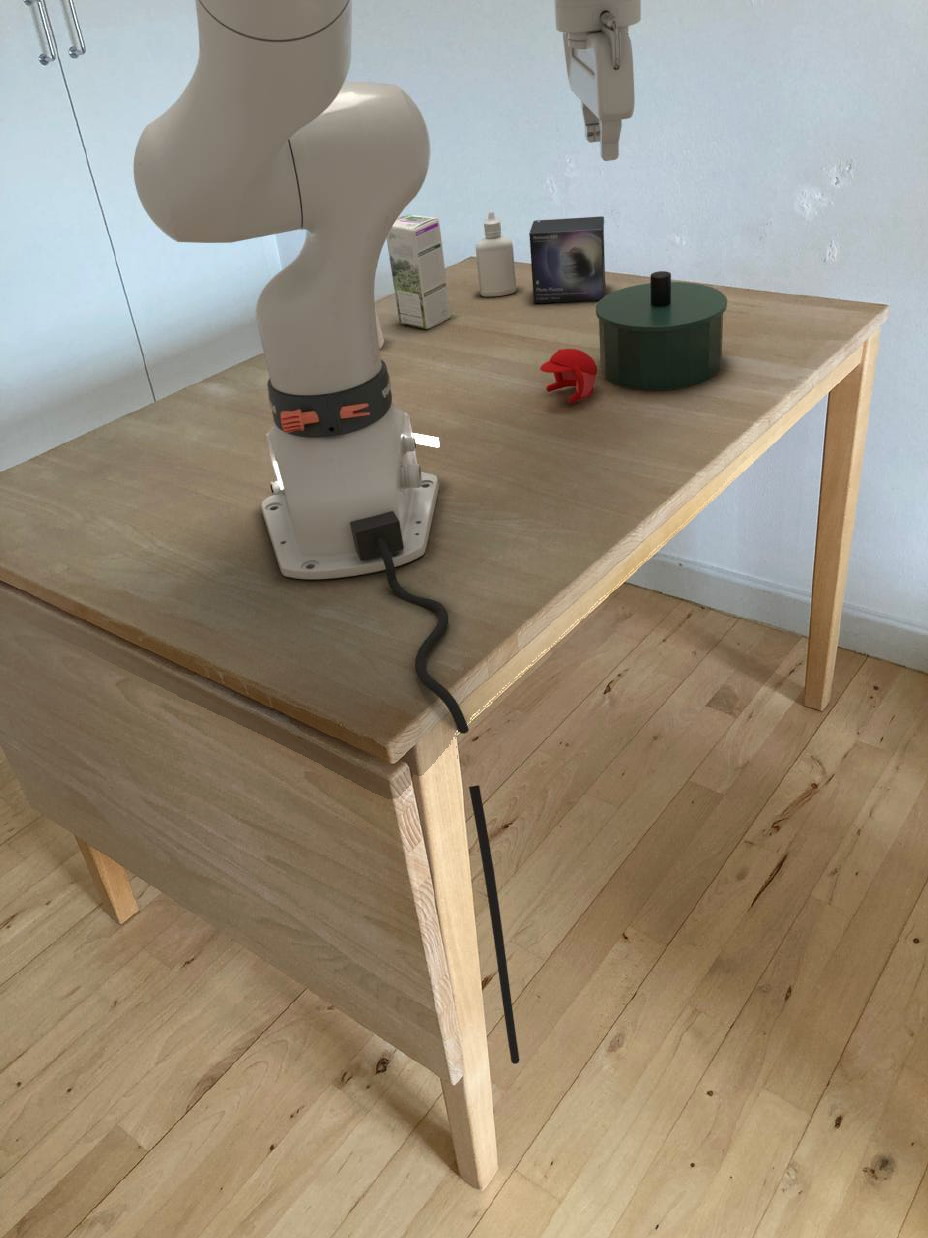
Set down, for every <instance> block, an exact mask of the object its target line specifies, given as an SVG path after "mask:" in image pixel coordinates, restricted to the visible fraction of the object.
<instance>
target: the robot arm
mask: <svg viewBox="0 0 928 1238" xmlns="http://www.w3.org/2000/svg"><path fill="white" fill-rule="evenodd" d="M194 1H195V11H196V19H197V29H198V30H197V32H198V59H197V63H196V66H195V70H194V72H193V74H192V76H191V78H190V80H189V82H188V83H187V85H186V87H185V88H184V90H183V91H182V92H181V94H180V95H179V97H178V98H177V99H176V101H175V102H174V103H173V104H172V105H171V106H170V107H169V108H168V109H167V110H166V111H164V112H163V113H162V114H161V115H160V116H158V117H156V118H155V119H154V120H152V121H151V122H150V123H148V124H147V125H145V127H144V128H143V130H142V132H141V133H140V136H139V138H138V140H137V144H136V147H135V150H134V155H133V164H132V165H133V180H134V185H135V190H136V193H137V196H138V199H139V201H140V203H141V206H142V207H143V209H144V211H145V213H146V214H147V216H148V217H149V218H150V220H151V221H152V222H153V223H154V225H155V226H156V227H157V228H158V229H159V230H160V231H161V232H162V233H163V234H165V235H166V236H167V237H169V238H170V239H172V240H173V241H174V242H176V243H194V244H195V243H197V244H227V243H228V244H231V243H235V242H240V241H241V242H242V241H247V240H251V239H257V238H261V237H267V236H273V235H278V234H283V233H287V232H294V231H299V230H300V231H303V230H304V231H305V238H304V243H303V244H302V247H301V249H300V251H299V252H298V254H297V255H296V257H295V258H294V259H293V260H292V261H291V262H290V263H289V264H287V265H286V266H284V267H283V268H282V269H281V270H279V271H278V272H277V273H276V274H274V275H273V276H272V278H270V280H268V281H267V283H266V284H265V285H264V287H263V289H262V290H261V292H260V293H259V296H258V298H257V302H256V305H255V321H256V324H257V329H258V333H259V337H260V342H261V346H262V351H263V356H264V360H265V363H266V367H267V372H268V377H269V378H268V380H267V383H266V385H267V391H268V394H267V397H268V404H269V407H270V409H271V413H272V418H273V419H272V420H273V422H274V424H273V425H272V427H271V428H270V429H269V430H268V432H267V433H266V434H265V440H266V443H267V448H268V452H269V456H270V461H271V465H272V469H273V473H274V477H275V481H270V485H269V487H270V491H271V494H272V495H270V496H268V497H267V498H264V499H263V500H262V502H261V503H260V504H261V505H260V506H261V513H262V517H263V520H264V522H265V526H266V530H267V533H268V536H269V538H270V542H271V545H272V548H273V552H274V554H275V557H276V561H277V564H278V567H279V571H280V572H281V574H282V576H284V577H285V578H286V577H287V578H290V579H297V580H298V579H299V580H329V579H340V578H348V577H356V576H359V575H361V576H362V575H368V574H373V573H377V572H383V571H385V574H386V579H387V580H386V581H387V583H388V586H389V588H390V589H391V591H392V592H393V593H394V594H395V595H396V596H397V597H398V598H400V599H401V600H404V601H406V602H409V603H410V604H414V605H416V606H420V607H422V608H428V609H430V610H433V611H434V612H435V613H436V615H437V618H438V621H437V623H436V626H435V627H434V628H433V630H432V631H431V632H430V633H429V635H428V636H427V637H426V639H425V640H424V641H423V642H422V644H420V647H419V649H418V650H417V653H416V656H415V660H414V667H415V672H416V675H417V677H418V678H419V680H420V682H421V683H422V684H423V685H424V686H425V687H426V688H427V689H428V690H429V691H431V692H432V693H433V694H434V695H436V696H437V697H438V698H439V699H440V700H441V702H442V703H443V704H444V705H445V707H446V708H447V709H448V711H449V712H450V714H451V717H452V719H453V721H454V725H455V726H456V730H457V732H458V733H460V734H461V735H462V734H463V735H465V734H468V733H469V731H470V730H469V727H468V723H467V720H466V718H465V715H464V713H463V711H462V709H461V707H460V705H459V703H458V702H457V700H456V699H455V698H454V695H452V694H451V692H450V691H448V689H447V688H446V687H445V686H443V685H442V684H441V683H439V681H437V680H436V679H435V678H434V677H432V676H431V675H430V674H429V672H428V670H427V666H426V660H427V658H428V657H427V656H428V655H429V653H430V651H431V650H432V649H433V647H434V646H435V644H436V643H437V642H438V641H439V639H440V638H441V637H442V636H443V634H444V633H445V632H446V629H447V628H448V627H447V626H448V623H449V614H448V611H447V609H446V608H445V606H444V605H443V604H442V603H441V602H439V601H437V600H435V599H431V598H427V597H423V596H419V595H416V594H413V593H411V592H409V591H407V590H406V589H405V588H403V587H402V586H401V584H400V583H399V582H398V579H397V575H396V574H397V573H396V568H397V567H399V566H402V565H405V564H408V563H410V562H412V561H414V560H417V559H418V558H420V557H422V556H424V554H425V553H426V550H427V547H428V541H429V537H430V531H431V527H432V522H433V517H434V513H435V509H436V504H437V500H438V495H439V490H440V483H439V479H438V477H437V476H436V475H435V474H433V473H430V472H425V471H422V469H421V465H420V464H418V460H417V453H416V451H417V444H418V445H423V446H427V447H428V446H429V447H433V448H440V440H439V439H440V438H439V437H436V436H430V435H426V434H420V433H414V432H413V429H412V425H411V420H410V415H409V414H408V413H407V412H405V411H404V410H402V409H401V408H399V407H398V406H397V405H396V404H395V403H393V394H392V389H391V387H392V386H391V385H392V381H391V376H390V373H389V372H388V367H387V364H386V362H385V360H384V359H382V356H381V349H379V342H378V334H377V325H376V315H375V308H376V301H375V282H376V273H377V269H378V264H379V260H380V256H381V253H382V250H383V247H384V245H385V242H386V241H387V239H386V237H387V236H388V234H389V232H390V230H391V228H392V226H393V224H394V223H395V221H396V220H397V218H400V215H401V214H402V213H403V211H404V210H405V209H406V207H407V206H408V205H409V204H410V203H411V202H412V201H413V200H414V199H415V198H416V197H417V195H418V194H419V192H420V191H421V190H422V187H423V185H424V183H425V181H426V178H427V176H428V171H429V167H430V161H431V140H430V139H431V138H430V134H429V130H428V127H427V123H426V120H425V119H424V116H423V114H422V112H421V110H420V108H419V107H418V105H417V104H416V103H415V101H414V100H413V99H412V97H411V96H410V95H409V94H408V93H407V92H406V91H405V90H404V89H402V88H401V87H400V86H399V85H397V84H393V83H381V82H371V81H370V82H368V81H346V79H347V76H348V74H349V70H350V67H351V62H352V61H351V60H352V27H353V25H352V24H353V17H352V16H353V0H194ZM641 1H642V0H554V17H555V18H554V19H555V21H554V22H555V23H554V24H555V30H556V31H557V32H559V33H562V40H563V49H564V58H565V65H566V75H567V79H568V84H569V87H570V90H571V92H572V93H573V94H574V95H575V96H576V97H577V98H578V99H579V100H580V108H581V113H582V118H583V123H584V138H585V140H586V141H587V142H588V143H598V142H599V156H600V157H601V159H602V160H603V161H605V162H609V161H616V160H617V159H618V158H619V156H620V149H619V148H620V146H619V145H620V143H619V142H620V137H621V132H622V127H623V126H622V125H623V123H622V121H623V120H629V119H631V118H632V117H633V115H634V112H635V105H636V103H635V102H636V101H635V76H634V75H635V74H634V57H633V56H634V55H633V45H632V40H631V37H630V34H629V28H630V27H631V26H634V25H637V24H638V23H640V22H641V20H642V19H641V17H642V16H641V15H642V13H641V12H642V11H641V8H642V7H641V6H642V5H641V3H642V2H641ZM468 791H469V795H470V801H471V807H472V810H473V816H474V817H473V818H474V822H475V827H476V828H475V829H476V833H477V840H478V844H479V851H480V856H481V864H482V868H483V877H484V881H485V887H486V894H487V901H488V908H489V914H490V915H489V916H490V921H491V928H492V935H493V936H492V937H493V943H494V951H495V957H496V965H497V971H498V979H499V985H500V993H501V1001H502V1007H503V1015H504V1022H505V1029H506V1035H507V1036H506V1037H507V1042H508V1050H509V1056H510V1062H511V1063H512V1064H514V1065H516V1064H519V1062H520V1053H519V1046H518V1041H517V1031H516V1025H515V1018H514V1009H513V1003H512V994H511V987H510V979H509V971H508V964H507V955H506V949H505V940H504V934H503V926H502V918H501V911H500V903H499V895H498V889H497V883H496V882H497V881H496V875H495V870H494V869H495V868H494V862H493V857H492V856H493V855H492V850H491V845H490V844H491V843H490V839H489V833H488V826H487V821H486V815H485V809H484V805H483V804H484V803H483V799H482V798H483V797H482V793H481V788H480V785H479V784H478V785H472V786H468Z"/></svg>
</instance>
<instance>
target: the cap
mask: <svg viewBox="0 0 928 1238" xmlns="http://www.w3.org/2000/svg"><path fill="white" fill-rule="evenodd" d="M539 369H540V371H541V372H544V373H547V374H553V377H554V381H555V382H553V383H550V384H547V386H545V388H546V389H545V390H546V392H548V393H551V392H554V391H557V390H559V389H565V388H569V387H570V388H571V387H576V389H575V391H574V393H573V394H572V395H571V396H570V397H569V398H568V403H569V404H571V405H573V404H575V403H577V402H580V401H583V400H584V399H587V398H589V397H590V396H592V395H593V393H594V391H595V388H594V386H595V383H596V379H597V375H598V366H597V362H596V361H595V360H594V359H593V358H592V356H591V355H590V354H588V353H587V352H585V351H582V350H580V349H575V348H563V349H558V350H557V351H556V352H554V353H553V354H552V355H551V357H550V358H549V360H547V361H545V362H544V363H542V364H541V366H540V367H539Z"/></svg>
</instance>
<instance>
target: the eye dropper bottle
mask: <svg viewBox="0 0 928 1238" xmlns="http://www.w3.org/2000/svg"><path fill="white" fill-rule="evenodd" d="M501 226H502V225H501V221H500V220H499V219H497V218H496V216H495V212H494V211H488V216H487V220H485V221H484V222H483V228H484V230H483V231H484V237H483V238H482V239H480V240H478V241H477V242H476V244H475V255H476V257H475V258H476V265H477V275H478V278H477V279H478V287H479V294H480V296H482V297H487V298H491V297H502V296H503V297H504V296H508V295H511V294H515V292H516V291H517V281H516V280H517V279H516V267H515V255H514V244H513V241H512V239H511V238H510V237H508V236H505V235H502V227H501Z"/></svg>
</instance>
